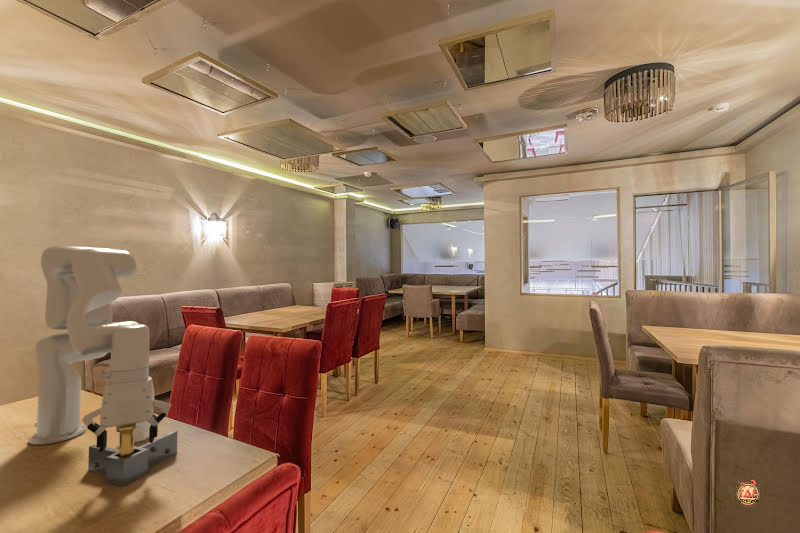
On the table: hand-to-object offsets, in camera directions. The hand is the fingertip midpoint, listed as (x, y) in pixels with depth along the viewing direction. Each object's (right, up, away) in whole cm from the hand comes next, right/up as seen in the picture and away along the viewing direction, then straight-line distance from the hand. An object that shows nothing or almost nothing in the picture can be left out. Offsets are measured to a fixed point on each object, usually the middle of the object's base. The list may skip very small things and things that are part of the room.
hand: (128, 445), depth 85 cm
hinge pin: (0, -8, 0) cm, 8 cm away
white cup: (-13, -9, +21) cm, 26 cm away
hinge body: (-3, -8, +6) cm, 11 cm away
